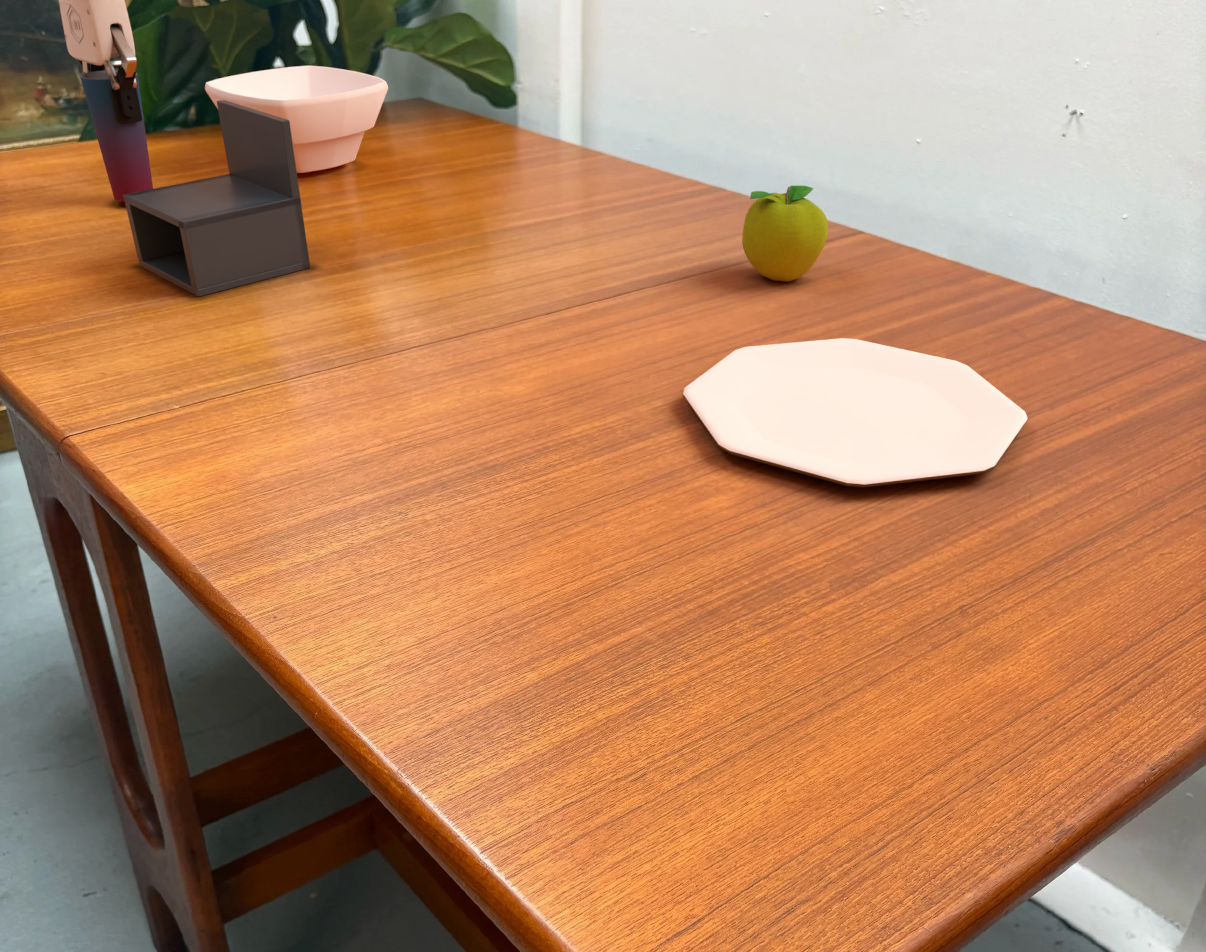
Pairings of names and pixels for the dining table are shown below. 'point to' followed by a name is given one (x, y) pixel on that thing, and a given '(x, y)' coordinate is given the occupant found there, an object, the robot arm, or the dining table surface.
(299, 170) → the bowl
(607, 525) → the dining table surface
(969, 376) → the plate
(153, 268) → the dark grey toy chair
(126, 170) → the cup
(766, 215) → the fruit
